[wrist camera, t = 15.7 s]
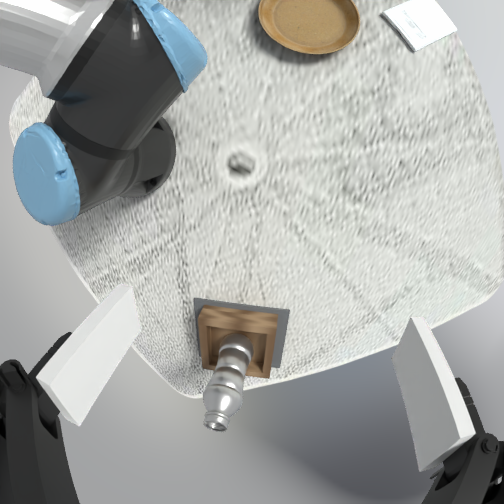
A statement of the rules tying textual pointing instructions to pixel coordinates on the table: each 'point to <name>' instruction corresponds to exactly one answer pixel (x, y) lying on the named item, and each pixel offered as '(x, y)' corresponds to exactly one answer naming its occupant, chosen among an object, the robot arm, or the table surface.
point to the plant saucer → (310, 24)
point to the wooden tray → (242, 322)
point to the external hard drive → (420, 22)
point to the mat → (282, 313)
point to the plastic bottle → (227, 381)
